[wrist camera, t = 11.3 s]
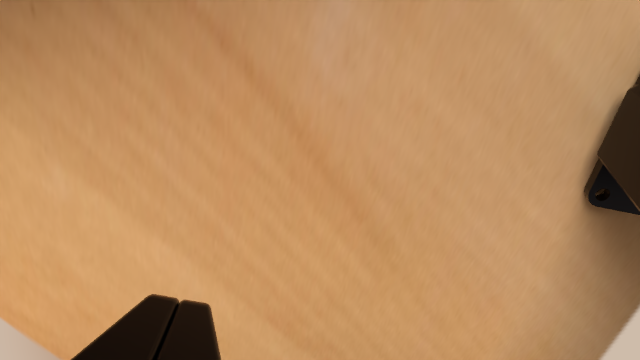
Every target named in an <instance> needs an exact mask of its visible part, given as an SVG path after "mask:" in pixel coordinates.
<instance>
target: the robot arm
mask: <svg viewBox="0 0 640 360" xmlns="http://www.w3.org/2000/svg"><path fill="white" fill-rule="evenodd" d="M598 156H599V160H598V162H597V164H596V166H595V168H594V170H593V172H592V174H591V176H590V178H589V180H588V182H587V184H586V186H585V190H584V192H585V196H586V197H587V199H588V200H589V202H590V203H591V204H592V205H594V206H597V207H602V208H607V209H612V210H617V211H622V212H627V213H632V214H637V215H640V76H639V78H638V80H637V82H636V84H635V86H633V87H632V88H630V89H629V90H628V91H627V93H626V95H625V97H624V99H623V101H622V103H621V106H620V108H619V110H618V112H617V114H616V116H615V118H614V120H613V122H612V124H611V126H610V128H609V130H608V132H607V134H606V136H605V139H604V141H603V143H602V145H601V147H600V149H599V151H598ZM600 189H606V190H605V192H604V193H603V194H600V195H595V194H596V192H597V191H598V190H600ZM71 360H221V357H220V352H219V347H218V342H217V337H216V332H215V327H214V322H213V317H212V312H211V308H210V306H209V305H208V304H206V303H201V302H196V301H190V300H183V301H181V302H180V303H179V300H178V299H177V298H173V297H167V296H162V295H156V294H152V295H149V296H147V297H146V298H145V299H144V300H142V301H141V302H140V303H139V304H138V305H136V306H135V307H134V308H133V309H132V310H130V311H129V312H128V313H127V314H126V315H124V316H123V317H122V318H121V319H119V320H118V321H117V322H116V323H115V324H113V325H112V326H111V327H110V328H109V329H107V330H106V331H105V332H104V333H103V334H101V335H100V336H99V337H98V338H96V339H95V340H94V341H93V342H92V343H90V344H89V345H88V346H87V347H86V348H84V349H83V350H82V351H81V352H80V353H78V354H77V355H76V356H75V357H73V358H72V359H71Z"/></svg>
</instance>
